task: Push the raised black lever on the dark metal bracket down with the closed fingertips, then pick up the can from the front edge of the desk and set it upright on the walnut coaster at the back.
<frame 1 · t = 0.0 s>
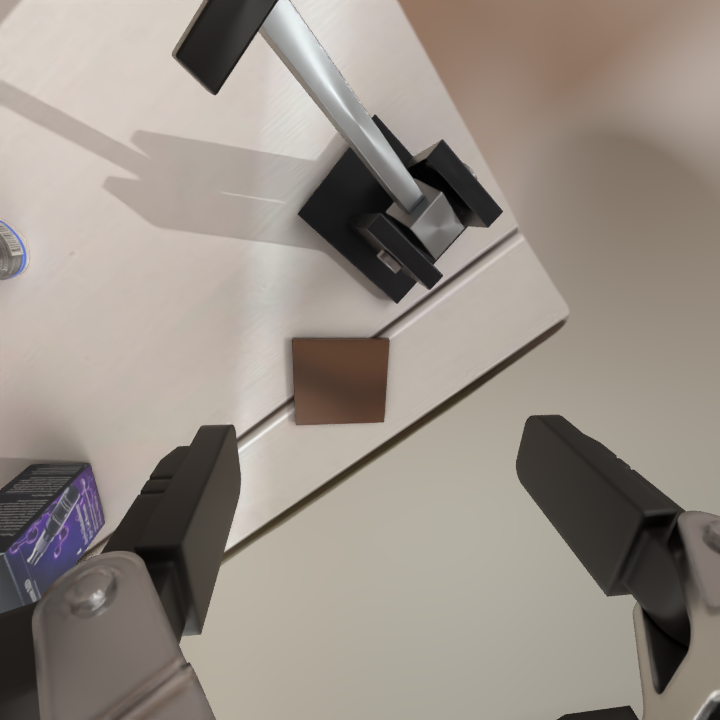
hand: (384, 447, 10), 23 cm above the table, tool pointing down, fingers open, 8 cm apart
bracket: (384, 218, 29), on the table
lever: (367, 142, 15), point 14 cm above the table, hinge at 28.0°
coaster: (340, 381, 35), on the table
box: (71, 491, 36), on the table
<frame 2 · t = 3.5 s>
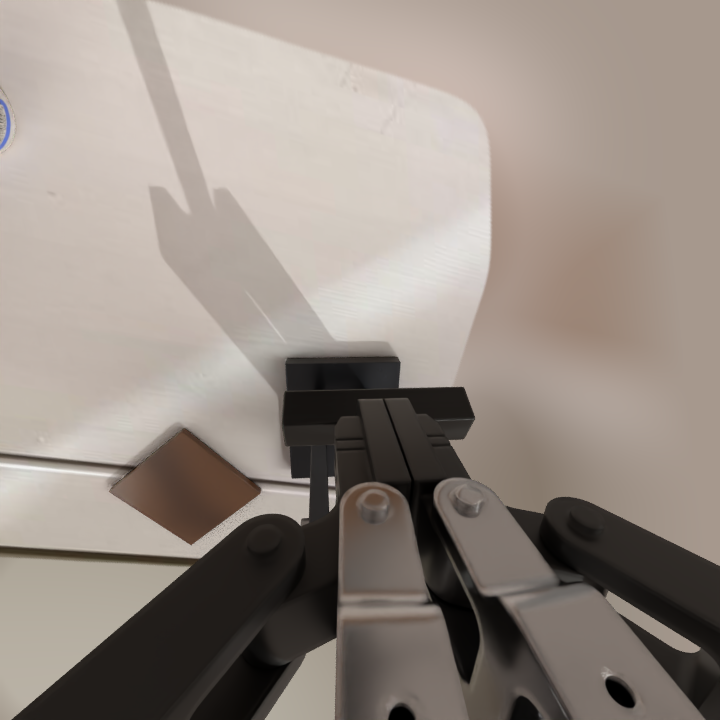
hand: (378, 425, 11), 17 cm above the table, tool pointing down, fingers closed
bracket: (342, 416, 31), on the table
lever: (363, 490, 16), point 14 cm above the table, hinge at 24.6°
coaster: (189, 487, 32), on the table
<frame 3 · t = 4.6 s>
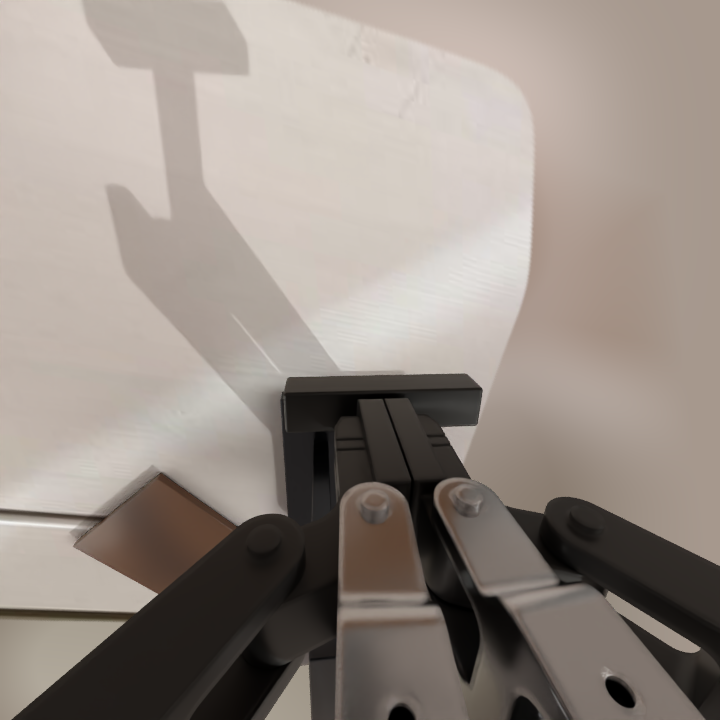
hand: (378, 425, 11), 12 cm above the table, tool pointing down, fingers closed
bracket: (348, 456, 26), on the table
lever: (375, 543, 13), point 12 cm above the table, hinge at -2.8°, touching gripper
coaster: (168, 539, 27), on the table
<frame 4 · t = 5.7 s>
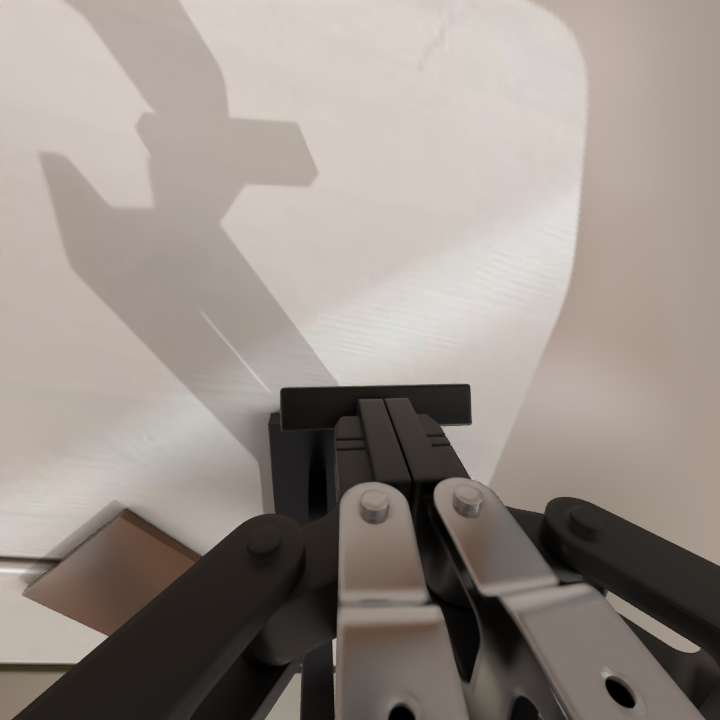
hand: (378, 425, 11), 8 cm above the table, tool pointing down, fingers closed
bracket: (350, 487, 22), on the table
lever: (380, 592, 11), point 10 cm above the table, hinge at -26.0°, touching gripper
coaster: (138, 583, 23), on the table
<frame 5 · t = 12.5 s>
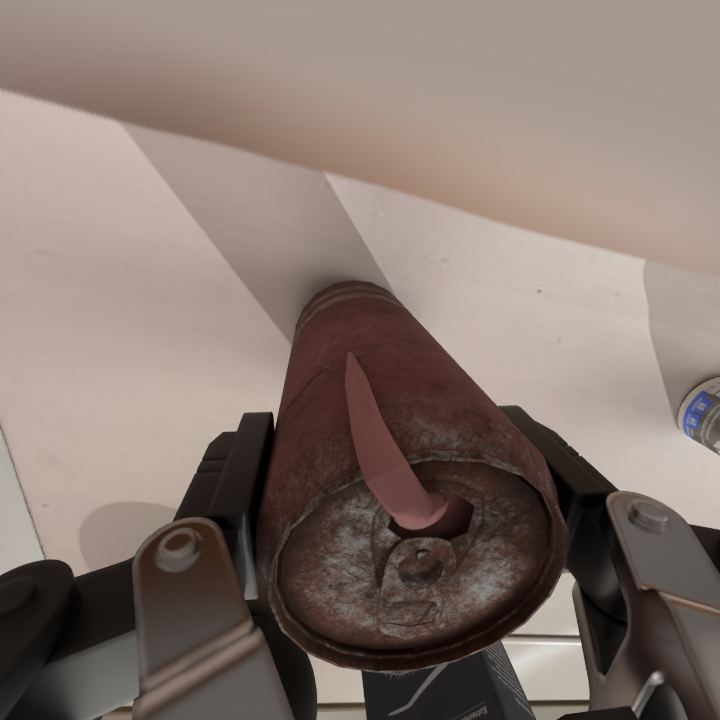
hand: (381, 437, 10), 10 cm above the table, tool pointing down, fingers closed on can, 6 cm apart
can: (351, 332, 19), on the table, touching gripper
decorative ball: (252, 625, 27), on the table
pill bottle: (704, 404, 24), on the table
box: (412, 577, 27), on the table
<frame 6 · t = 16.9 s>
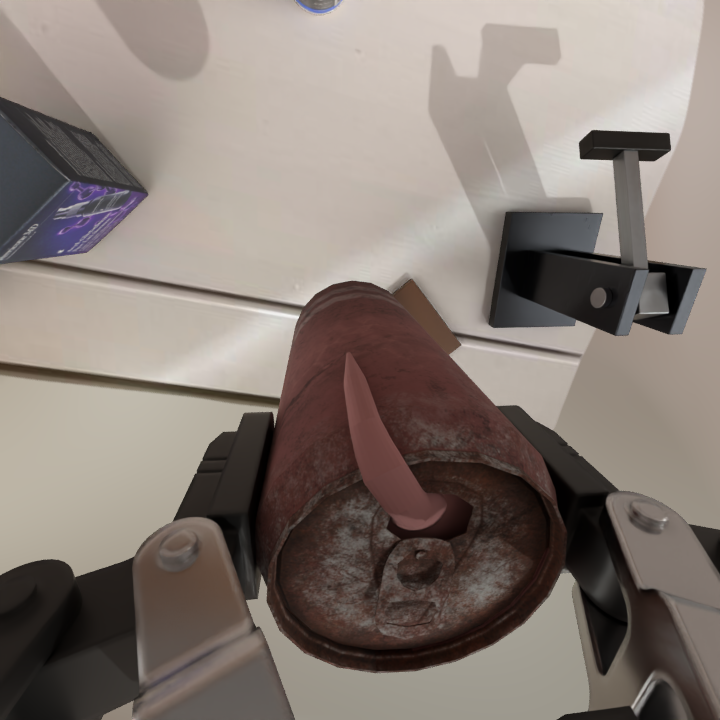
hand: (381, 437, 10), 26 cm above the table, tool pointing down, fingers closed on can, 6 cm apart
bracket: (538, 271, 36), on the table
can: (350, 332, 19), point 16 cm above the table, touching gripper
lever: (631, 225, 25), point 10 cm above the table, hinge at -26.0°
coaster: (401, 339, 37), on the table
box: (92, 195, 29), on the table
when the fingers open (10 cm above the table, at t = 21.6 s): can stays where it is, resting on coaster.
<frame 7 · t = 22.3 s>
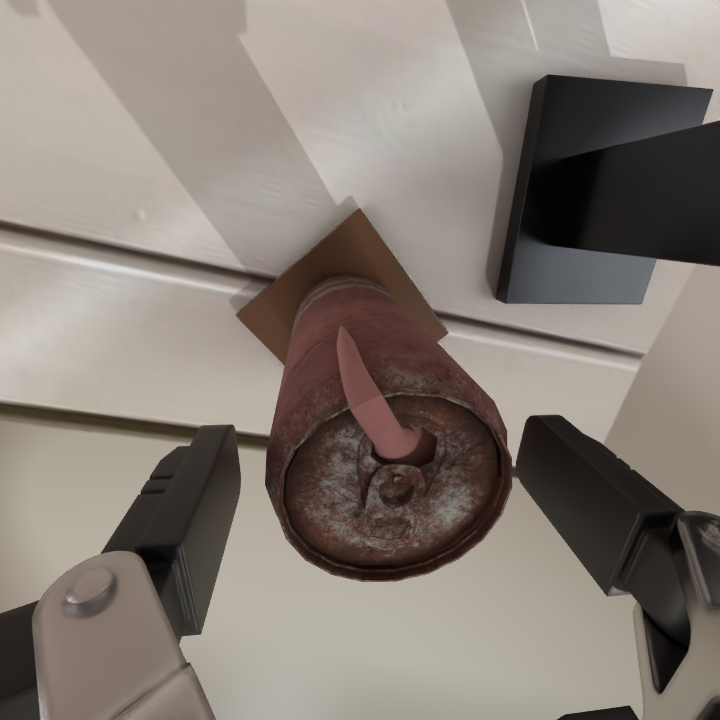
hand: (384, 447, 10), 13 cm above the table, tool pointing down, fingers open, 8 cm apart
bracket: (585, 205, 20), on the table
can: (346, 322, 21), resting on coaster
coaster: (346, 322, 21), on the table
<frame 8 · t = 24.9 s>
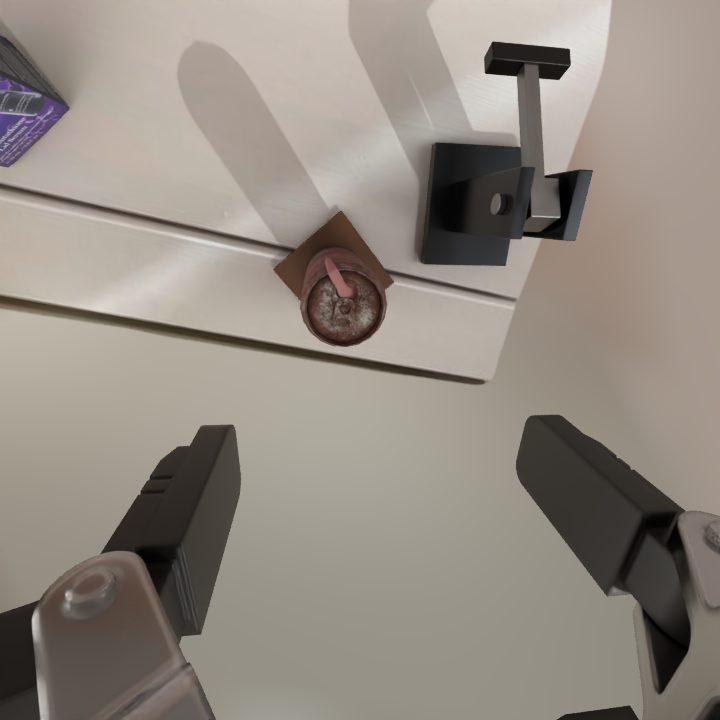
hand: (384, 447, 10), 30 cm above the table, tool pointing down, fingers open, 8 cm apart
bracket: (468, 208, 36), on the table
can: (334, 275, 37), resting on coaster
lever: (531, 137, 26), point 10 cm above the table, hinge at -26.0°
coaster: (334, 275, 37), on the table
box: (13, 107, 29), on the table
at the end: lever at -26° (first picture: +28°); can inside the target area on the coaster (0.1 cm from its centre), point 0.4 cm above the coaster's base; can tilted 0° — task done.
